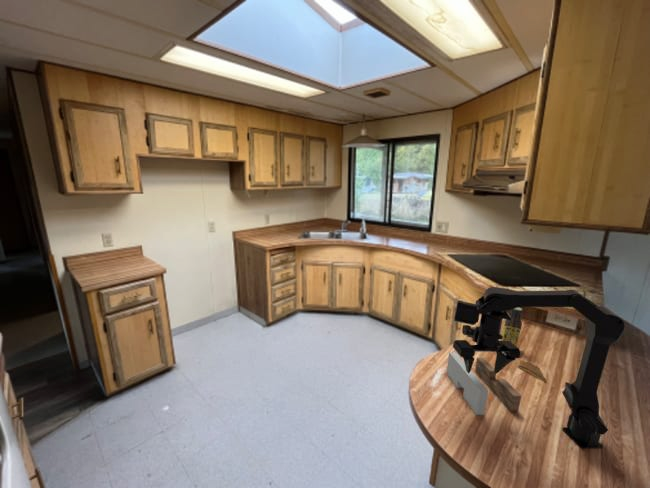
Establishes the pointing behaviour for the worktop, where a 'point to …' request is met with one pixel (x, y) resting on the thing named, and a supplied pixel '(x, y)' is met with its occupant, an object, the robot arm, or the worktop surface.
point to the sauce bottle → (512, 327)
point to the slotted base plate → (498, 385)
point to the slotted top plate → (467, 383)
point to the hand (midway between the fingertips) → (481, 372)
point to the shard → (531, 369)
